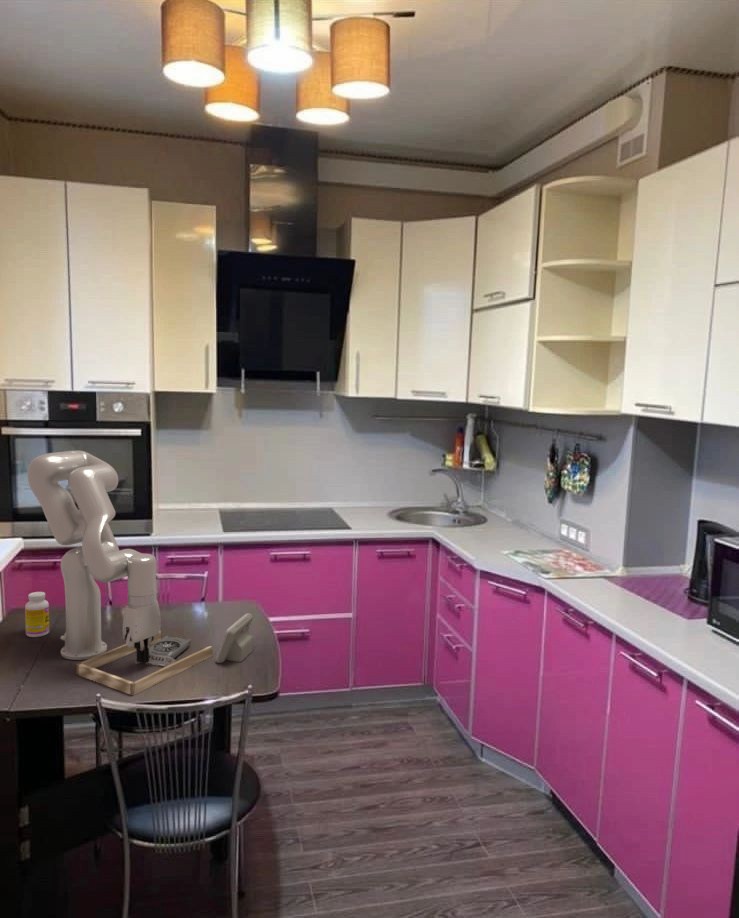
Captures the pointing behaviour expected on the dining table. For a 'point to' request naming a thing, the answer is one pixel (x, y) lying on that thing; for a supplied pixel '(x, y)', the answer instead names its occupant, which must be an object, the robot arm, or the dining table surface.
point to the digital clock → (236, 641)
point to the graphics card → (166, 651)
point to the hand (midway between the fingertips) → (142, 661)
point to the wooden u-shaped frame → (132, 688)
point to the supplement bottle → (37, 615)
